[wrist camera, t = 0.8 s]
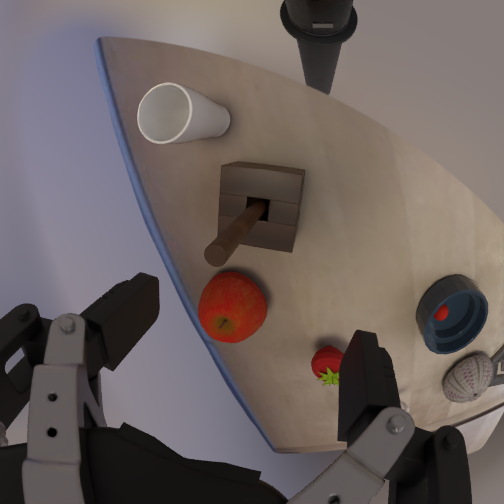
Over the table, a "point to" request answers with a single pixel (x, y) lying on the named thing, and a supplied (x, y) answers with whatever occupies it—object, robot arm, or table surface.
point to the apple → (231, 307)
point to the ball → (441, 313)
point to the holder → (266, 187)
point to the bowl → (452, 314)
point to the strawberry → (327, 364)
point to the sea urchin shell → (468, 379)
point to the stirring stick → (234, 234)
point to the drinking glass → (180, 115)
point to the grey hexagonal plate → (500, 356)
